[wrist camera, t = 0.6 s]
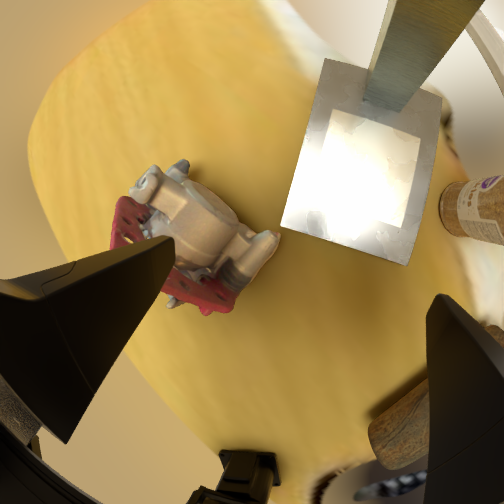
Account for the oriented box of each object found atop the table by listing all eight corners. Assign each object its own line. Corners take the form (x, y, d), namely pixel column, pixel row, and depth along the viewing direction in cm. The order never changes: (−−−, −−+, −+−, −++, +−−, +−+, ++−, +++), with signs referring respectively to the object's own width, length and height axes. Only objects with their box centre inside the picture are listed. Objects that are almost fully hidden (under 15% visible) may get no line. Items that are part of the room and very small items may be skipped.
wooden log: (395, 442, 22) (404, 486, 16) (358, 413, 23) (364, 462, 16) (502, 348, 19) (535, 377, 12) (477, 305, 19) (515, 332, 13)
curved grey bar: (554, 212, 13) (415, -49, 9) (512, 202, 19) (397, -14, 16) (575, 191, 12) (451, -48, 8) (537, 185, 18) (430, -18, 14)
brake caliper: (103, 258, 24) (54, 189, 13) (188, 186, 28) (198, 94, 17) (189, 351, 23) (194, 353, 12) (272, 264, 27) (332, 204, 16)
